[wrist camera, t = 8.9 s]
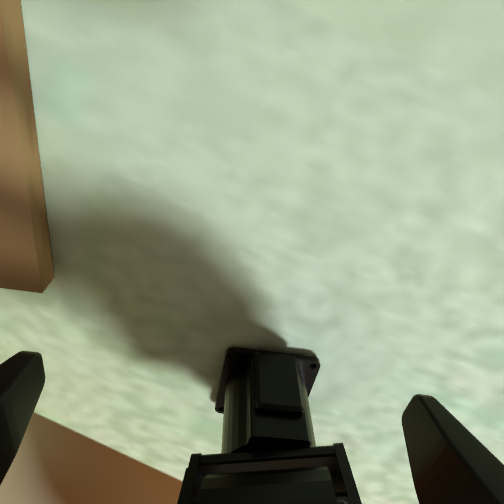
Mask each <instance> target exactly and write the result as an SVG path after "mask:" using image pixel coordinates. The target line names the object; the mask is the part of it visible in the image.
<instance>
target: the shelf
mask: <svg viewBox="0 0 504 504" xmlns="http://www.w3.org/2000/svg"><path fill="white" fill-rule="evenodd" d="M53 278H54V271H53V263H52V254H51V246H50V238H49V230H48V222H47V213H46V205H45V197H44V189H43V181H42V172H41V164H40V156H39V148H38V139H37V131H36V123H35V115H34V107H33V98H32V90H31V82H30V74H29V66H28V57H27V49H26V41H25V33H24V24H23V16H22V8H21V0H0V288H6V289H14V290H22V291H30V292H38V293H43V291H44V290H45V289H46V287H47V286H48V285H49V284H50V282H51V281H52V280H53Z"/></svg>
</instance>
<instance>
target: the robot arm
mask: <svg viewBox="0 0 504 504" xmlns="http://www.w3.org/2000/svg"><path fill="white" fill-rule="evenodd" d="M232 354H234V355H232ZM319 368H320V362H319V359H318V358H317V357H312V356H304V355H295V354H287V353H278V352H270V351H261V350H253V349H244V348H235V347H231V348H228V349H227V350H226V352H225V357H224V362H223V367H222V372H221V378H220V383H219V388H218V393H217V398H216V403H215V410H216V412H218V413H223V414H224V418H223V435H222V453H221V454H208V455H202V454H201V453H198V454H192V455H191V458H190V462H189V466H188V468H186V471H185V475H184V479H183V483H182V488H181V491H180V495H179V499H178V503H177V504H362V503H361V500H360V497H359V493H358V490H357V487H356V484H355V481H354V477H353V474H352V471H351V468H350V465H349V461H348V458H347V455H346V452H345V449H344V445H343V443H334V444H333V445H331V446H317V447H316V444H315V438H314V432H313V426H312V420H311V414H310V408H309V402H308V397H309V394H310V391H311V389H312V386H313V384H314V381H315V379H316V376H317V374H318V371H319ZM44 383H45V372H44V366H43V360H42V356H41V354H40V353H38V352H29V351H21V352H18V353H17V354H15V355H14V356H12V357H11V358H9V359H8V360H6V361H5V362H3V363H2V364H0V485H1V483H2V481H3V479H4V477H5V475H6V473H7V471H8V469H9V468H10V466H11V464H12V462H13V460H14V458H15V456H16V454H17V451H18V449H19V447H20V444H21V442H22V439H23V437H24V434H25V432H26V429H27V427H28V424H29V422H30V419H31V416H32V414H33V412H34V409H35V407H36V404H37V402H38V399H39V397H40V394H41V392H42V389H43V387H44ZM402 426H403V432H404V437H405V442H406V447H407V452H408V457H409V462H410V467H411V472H412V477H413V482H414V486H415V490H416V494H417V497H418V501H419V504H504V465H503V464H502V463H501V462H500V461H499V460H498V459H497V458H496V457H495V456H494V455H493V454H492V453H491V452H490V451H489V450H488V449H487V448H486V447H485V446H484V445H483V444H482V443H481V442H480V441H479V440H478V439H477V438H476V437H475V436H473V435H472V434H471V433H470V432H469V431H468V430H467V429H466V428H465V427H464V426H463V425H462V424H461V423H460V422H459V421H458V420H457V419H456V418H455V417H454V416H453V415H452V414H451V413H450V412H449V411H448V410H447V409H446V408H445V407H444V406H443V405H442V404H440V403H439V402H438V401H437V400H436V399H435V398H434V397H432V396H430V395H421V394H416V395H414V396H413V398H412V399H411V401H410V403H409V404H408V406H407V407H406V409H405V411H404V412H403V415H402Z"/></svg>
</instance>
